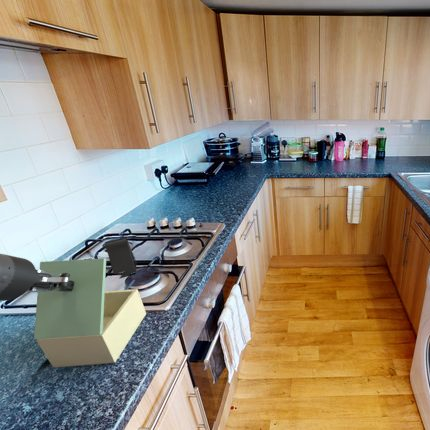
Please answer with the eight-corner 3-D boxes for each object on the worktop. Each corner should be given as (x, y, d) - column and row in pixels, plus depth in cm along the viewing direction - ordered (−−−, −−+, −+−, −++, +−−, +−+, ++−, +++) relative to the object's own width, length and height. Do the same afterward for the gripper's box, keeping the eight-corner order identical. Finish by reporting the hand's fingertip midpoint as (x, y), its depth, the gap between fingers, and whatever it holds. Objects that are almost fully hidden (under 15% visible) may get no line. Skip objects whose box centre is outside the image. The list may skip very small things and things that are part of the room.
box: (96, 317, 80) (84, 292, 76) (146, 313, 81) (137, 289, 77) (53, 367, 66) (36, 340, 62) (115, 362, 67) (102, 335, 63)
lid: (43, 261, 64) (39, 261, 64) (106, 258, 65) (103, 258, 65) (37, 338, 62) (33, 339, 61) (102, 333, 63) (99, 334, 62)
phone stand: (136, 274, 97) (125, 243, 92) (115, 279, 95) (103, 249, 90) (136, 261, 104) (126, 232, 99) (116, 266, 102) (105, 236, 97)
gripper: (36, 251, 49) (104, 267, 65) (-48, 255, 48) (42, 271, 64) (23, 296, 46) (97, 302, 62) (-66, 301, 45) (33, 306, 61)
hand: (69, 286), depth 63 cm, fingers closed
